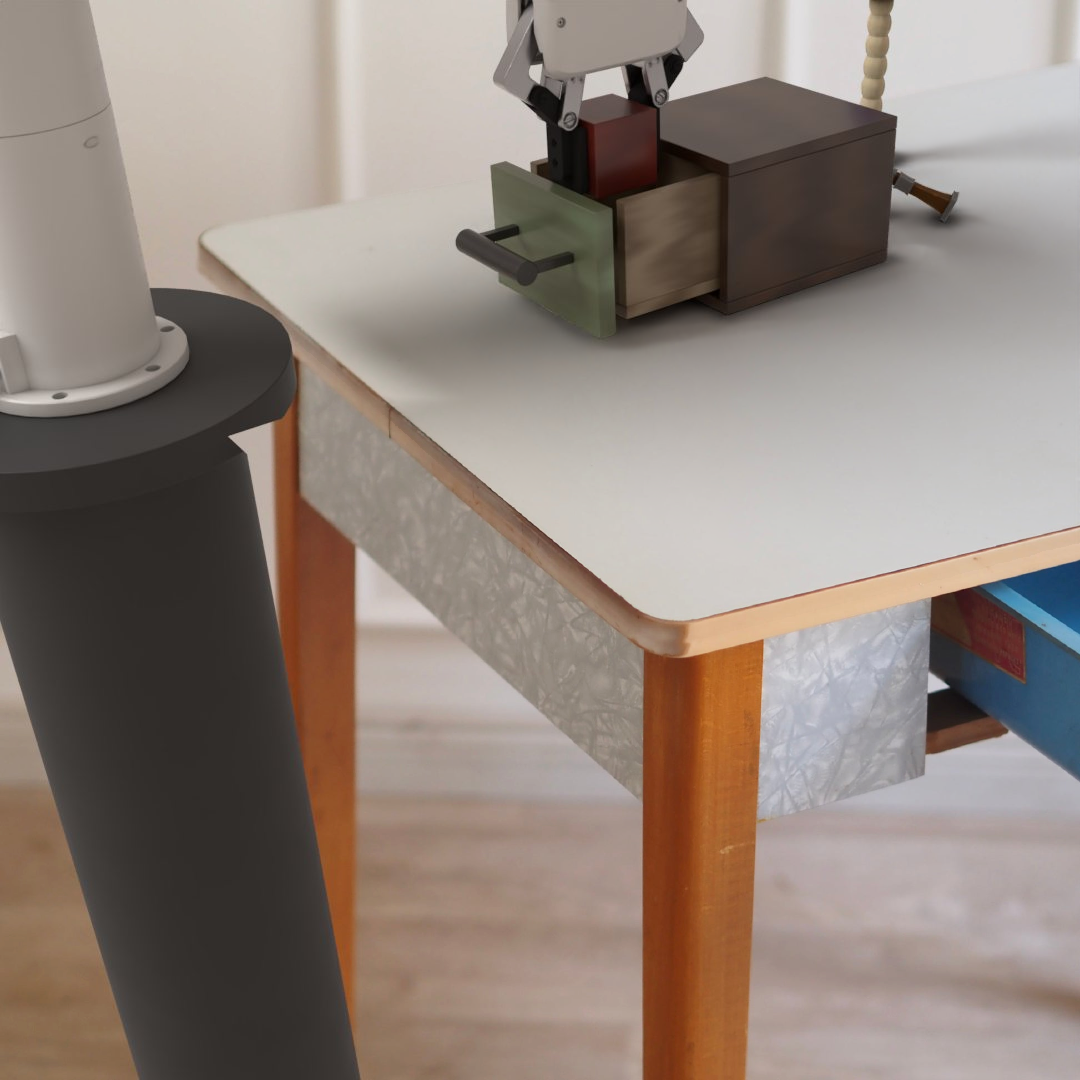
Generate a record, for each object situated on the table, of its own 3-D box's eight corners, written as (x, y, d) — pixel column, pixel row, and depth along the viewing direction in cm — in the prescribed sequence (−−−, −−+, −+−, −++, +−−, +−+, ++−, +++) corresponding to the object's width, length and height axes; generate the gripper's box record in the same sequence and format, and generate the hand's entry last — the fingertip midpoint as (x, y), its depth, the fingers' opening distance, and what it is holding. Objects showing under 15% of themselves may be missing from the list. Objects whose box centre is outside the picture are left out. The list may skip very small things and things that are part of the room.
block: (597, 199, 89) (594, 124, 86) (554, 180, 92) (551, 107, 90) (657, 182, 91) (656, 108, 88) (614, 164, 94) (612, 92, 92)
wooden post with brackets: (828, 194, 107) (857, 138, 105) (928, 244, 107) (961, 189, 104) (824, 203, 106) (853, 146, 103) (926, 253, 106) (958, 198, 103)
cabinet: (727, 315, 93) (729, 164, 88) (608, 257, 102) (604, 117, 97) (887, 260, 99) (897, 115, 94) (762, 210, 108) (765, 76, 103)
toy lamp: (893, 149, 118) (910, -77, 109) (908, 168, 114) (927, -64, 105) (832, 153, 118) (844, -72, 109) (846, 172, 114) (859, -60, 105)
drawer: (541, 359, 87) (534, 231, 83) (443, 299, 95) (431, 179, 91) (762, 285, 94) (765, 164, 90) (652, 235, 103) (651, 122, 98)
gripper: (676, -172, 88) (677, 135, 98) (426, -134, 80) (455, 195, 90) (760, -161, 82) (752, 163, 92) (500, -119, 75) (522, 229, 85)
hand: (605, 176), depth 91 cm, fingers closed on block, 4 cm apart
